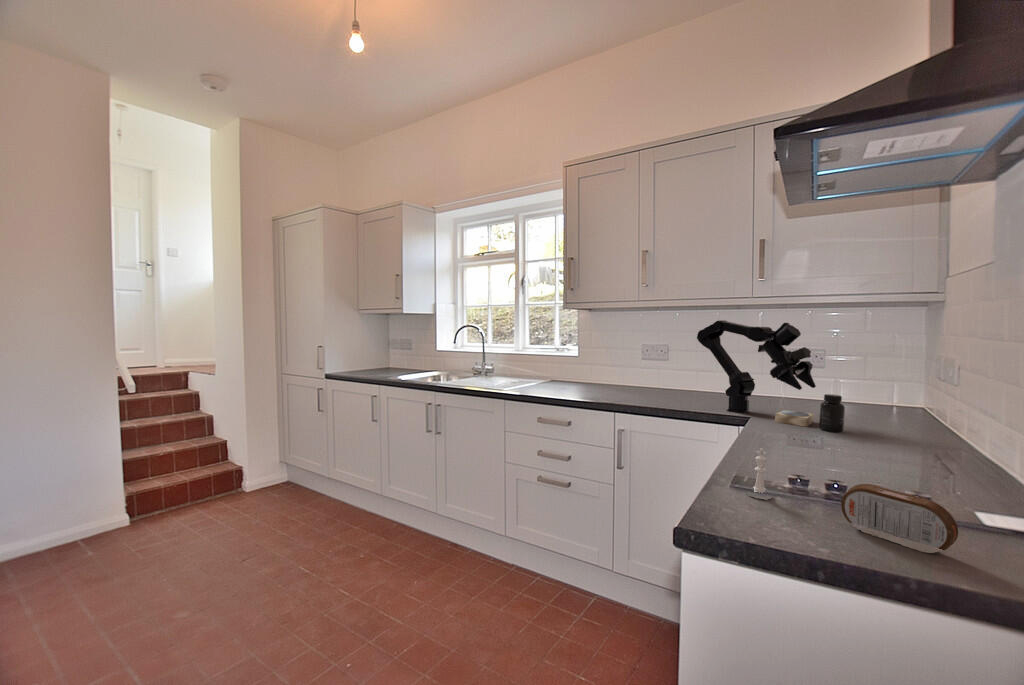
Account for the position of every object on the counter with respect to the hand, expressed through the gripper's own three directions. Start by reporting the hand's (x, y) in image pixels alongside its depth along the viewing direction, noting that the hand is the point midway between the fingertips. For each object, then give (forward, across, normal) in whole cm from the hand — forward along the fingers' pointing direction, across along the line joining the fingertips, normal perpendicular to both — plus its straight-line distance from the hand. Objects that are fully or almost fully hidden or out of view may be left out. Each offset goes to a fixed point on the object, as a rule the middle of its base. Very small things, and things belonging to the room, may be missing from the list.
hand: (807, 388), depth 160 cm
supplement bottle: (+15, 0, +3) cm, 16 cm away
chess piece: (+30, -78, -12) cm, 85 cm away
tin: (+46, -78, -28) cm, 95 cm away
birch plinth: (+6, +2, +12) cm, 14 cm away
